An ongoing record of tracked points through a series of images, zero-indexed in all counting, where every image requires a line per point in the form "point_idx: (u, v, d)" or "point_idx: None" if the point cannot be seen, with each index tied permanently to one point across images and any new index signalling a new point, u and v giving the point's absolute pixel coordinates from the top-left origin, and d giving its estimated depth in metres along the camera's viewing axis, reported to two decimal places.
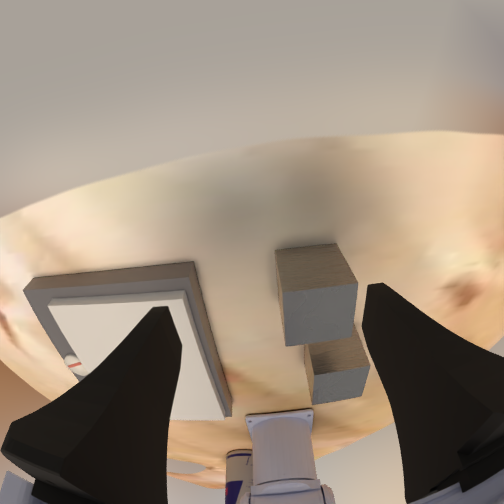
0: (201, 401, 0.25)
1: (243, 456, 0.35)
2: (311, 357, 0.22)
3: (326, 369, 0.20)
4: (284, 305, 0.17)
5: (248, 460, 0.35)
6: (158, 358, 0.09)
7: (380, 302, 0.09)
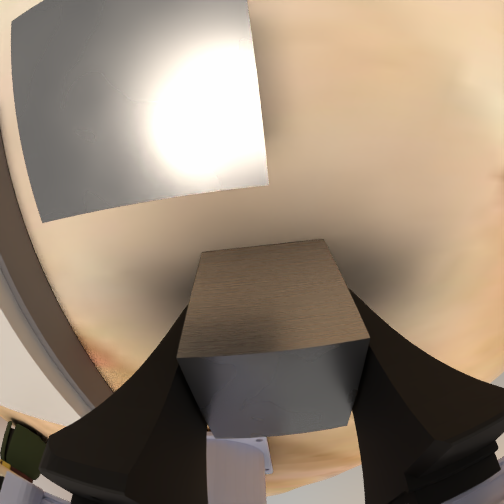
0: (40, 390, 0.11)
1: None
2: (190, 308, 0.08)
3: (219, 343, 0.07)
4: (14, 57, 0.03)
5: None
6: None
7: None
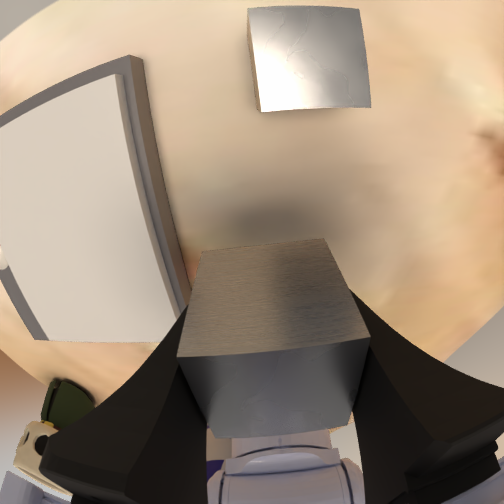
0: (143, 296, 0.16)
1: None
2: (190, 307, 0.08)
3: (219, 342, 0.07)
4: (252, 28, 0.09)
5: None
6: None
7: None
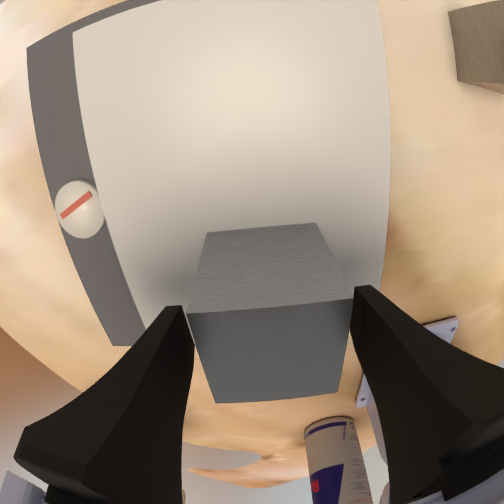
0: (352, 267, 0.13)
1: (336, 427, 0.23)
2: (197, 275, 0.09)
3: (223, 301, 0.08)
4: None
5: (345, 432, 0.23)
6: (174, 358, 0.09)
7: (365, 304, 0.09)
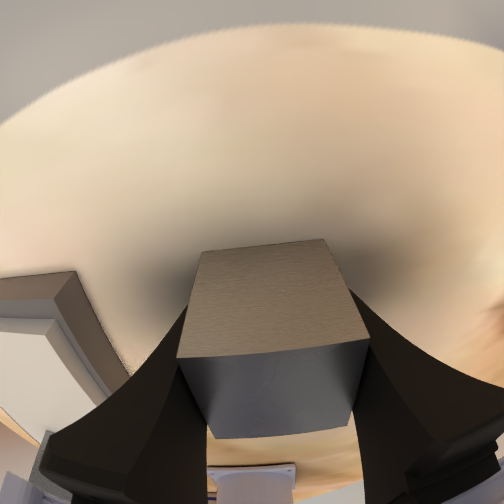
0: None
1: (213, 501, 0.25)
2: (34, 464, 0.11)
3: (38, 484, 0.10)
4: (189, 381, 0.07)
5: None
6: None
7: None
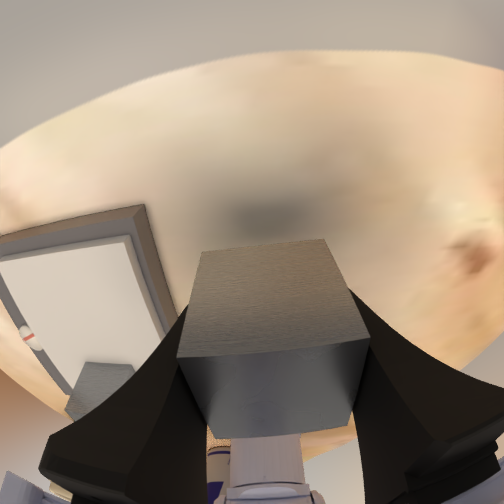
0: None
1: (225, 454, 0.31)
2: (72, 391, 0.17)
3: (75, 407, 0.16)
4: (190, 381, 0.07)
5: None
6: None
7: None
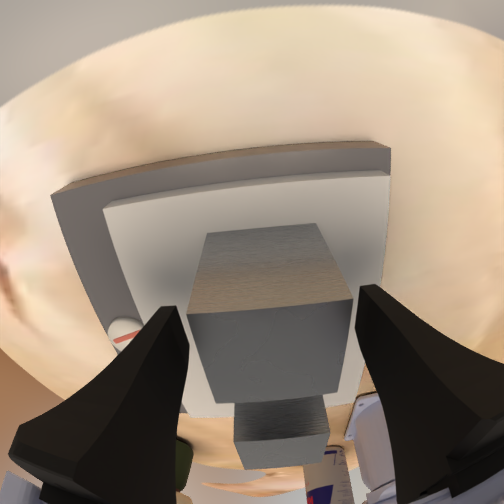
0: None
1: (328, 454, 0.27)
2: (235, 410, 0.13)
3: (254, 433, 0.12)
4: (196, 338, 0.08)
5: (335, 459, 0.27)
6: (167, 358, 0.09)
7: (371, 303, 0.09)
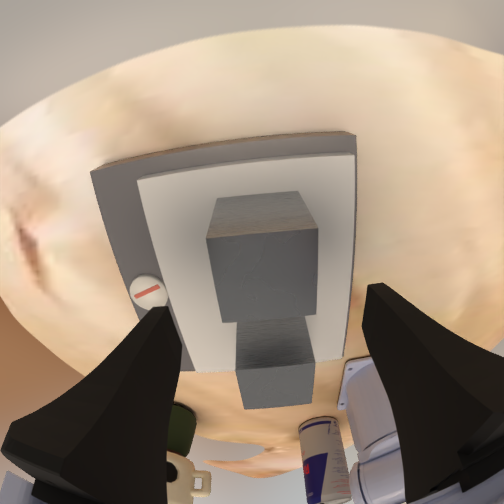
0: (325, 328, 0.21)
1: (323, 424, 0.31)
2: (237, 346, 0.17)
3: (252, 363, 0.16)
4: (211, 259, 0.12)
5: (329, 428, 0.31)
6: (158, 358, 0.09)
7: (380, 302, 0.09)
